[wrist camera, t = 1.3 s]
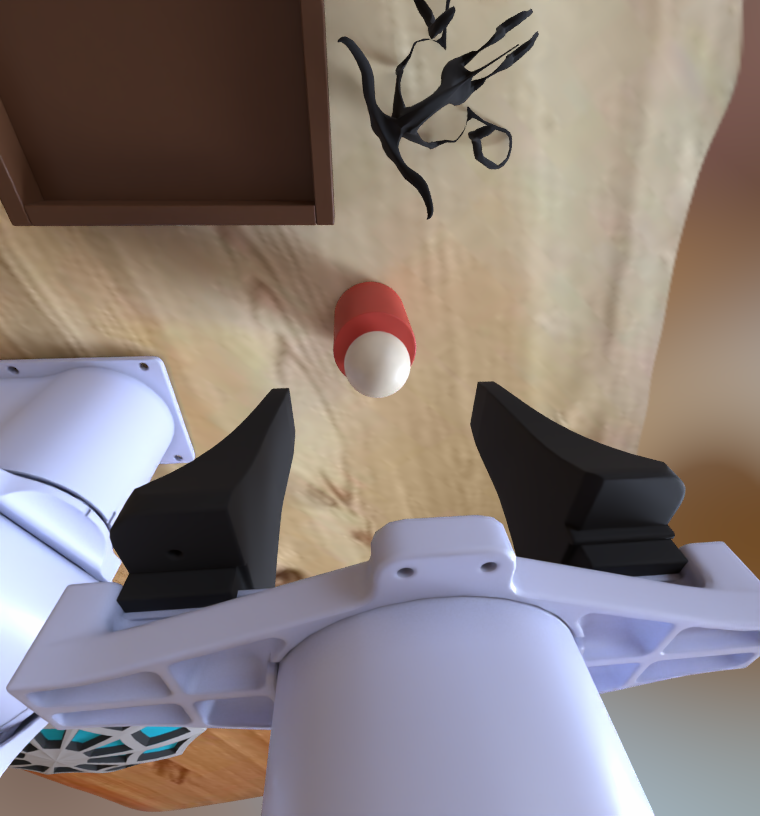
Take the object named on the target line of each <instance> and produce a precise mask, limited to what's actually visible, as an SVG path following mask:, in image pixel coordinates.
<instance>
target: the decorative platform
mask: <svg viewBox="0 0 760 816" xmlns="http://www.w3.org/2000/svg"><path fill="white" fill-rule="evenodd" d="M206 729H207V728H193V727H149V726H126V727H96V728H82V729H68V730H57V729H56V728H54V727H53V726H52V725H50V724H49V723H48V724H47V725H46V726H45V727H44V728H43V729H42V730H41V731H40V732H39V733H38V734H37V735H36V736H35V737H34V738H33V739H32V740H31V741H30V742H29V743H28V744H27V745H26V746H25V747H24V748H23V749H22V751H21V752H20V753H19V754H18V755H17V756H16V757H15V759H14V760H13V761H12V763H11V764H10V765H9V766H8V768H15V769H23V770H30V771H35V772H39V773H43V774H56V773H72V772H87V773H107V772H113V771H117V770H121V769H124V768H127V767H131V766H134V765H137V764H141V763H146V762H152V761H157V760H162V759H166V758H170V757H174V756H178V755H181V754H182V753H183V751H184V750H185V749H186V747H187V746H188V745H189V744H190V743H191V742H192V741H193V740H194V739H195V738H196V737H198V736H199V735H200V734H201V733H203V732H204V731H205V730H206Z"/></svg>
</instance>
